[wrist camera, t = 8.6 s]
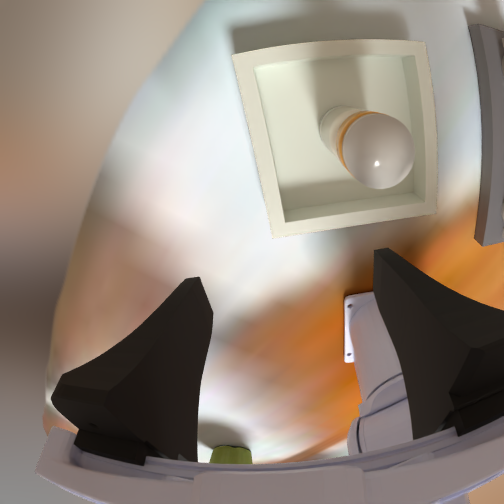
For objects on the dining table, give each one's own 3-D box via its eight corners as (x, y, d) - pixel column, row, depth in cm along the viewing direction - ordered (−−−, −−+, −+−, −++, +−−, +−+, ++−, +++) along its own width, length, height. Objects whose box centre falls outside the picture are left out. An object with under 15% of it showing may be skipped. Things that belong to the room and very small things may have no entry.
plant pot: (193, 450, 48) (184, 497, 38) (217, 435, 42) (209, 493, 33) (244, 463, 50) (241, 508, 41) (275, 449, 45) (274, 502, 35)
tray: (421, 200, 20) (436, 213, 18) (272, 221, 22) (272, 238, 20) (407, 45, 14) (424, 41, 12) (236, 59, 16) (231, 55, 14)
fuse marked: (371, 152, 18) (416, 184, 12) (323, 159, 19) (349, 194, 13) (364, 102, 16) (411, 111, 10) (313, 108, 17) (338, 117, 11)
